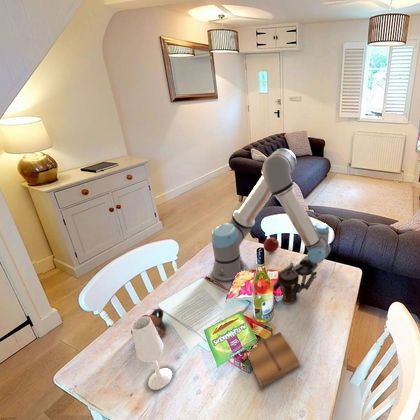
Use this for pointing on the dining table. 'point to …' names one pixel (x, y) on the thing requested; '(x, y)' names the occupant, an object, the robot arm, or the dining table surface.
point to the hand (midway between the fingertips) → (282, 292)
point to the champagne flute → (150, 350)
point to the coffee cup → (288, 284)
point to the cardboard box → (272, 359)
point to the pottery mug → (157, 321)
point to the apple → (271, 244)
